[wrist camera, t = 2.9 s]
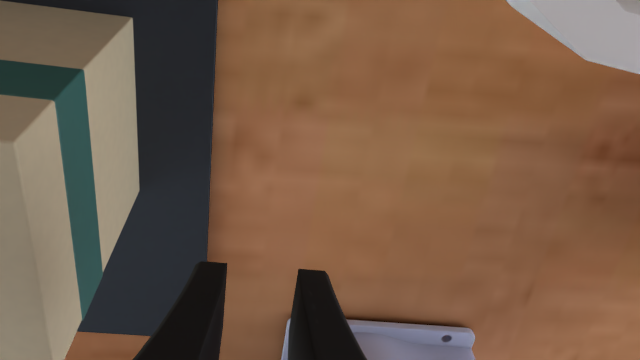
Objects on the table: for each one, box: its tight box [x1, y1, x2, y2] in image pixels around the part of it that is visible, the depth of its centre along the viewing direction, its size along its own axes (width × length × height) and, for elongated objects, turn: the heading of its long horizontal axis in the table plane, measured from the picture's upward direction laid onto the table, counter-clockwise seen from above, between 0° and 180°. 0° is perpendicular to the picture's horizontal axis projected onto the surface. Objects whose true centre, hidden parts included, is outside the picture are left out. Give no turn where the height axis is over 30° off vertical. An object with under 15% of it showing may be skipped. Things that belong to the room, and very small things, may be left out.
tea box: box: [0, 1, 140, 360], centre depth 16 cm, size 5×7×9 cm, turn 172°
